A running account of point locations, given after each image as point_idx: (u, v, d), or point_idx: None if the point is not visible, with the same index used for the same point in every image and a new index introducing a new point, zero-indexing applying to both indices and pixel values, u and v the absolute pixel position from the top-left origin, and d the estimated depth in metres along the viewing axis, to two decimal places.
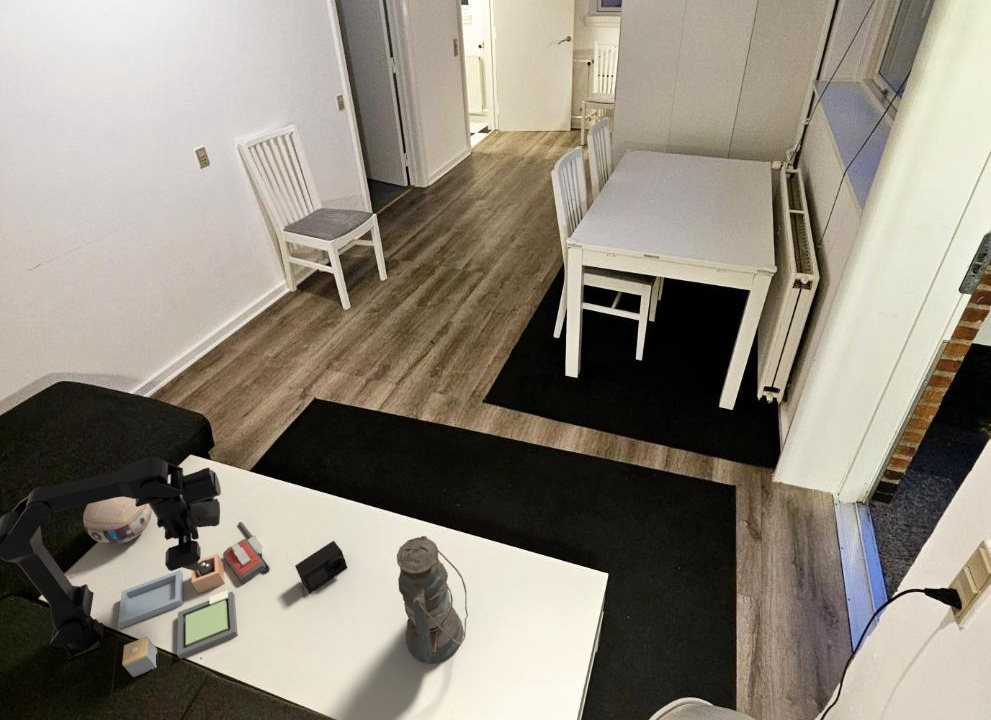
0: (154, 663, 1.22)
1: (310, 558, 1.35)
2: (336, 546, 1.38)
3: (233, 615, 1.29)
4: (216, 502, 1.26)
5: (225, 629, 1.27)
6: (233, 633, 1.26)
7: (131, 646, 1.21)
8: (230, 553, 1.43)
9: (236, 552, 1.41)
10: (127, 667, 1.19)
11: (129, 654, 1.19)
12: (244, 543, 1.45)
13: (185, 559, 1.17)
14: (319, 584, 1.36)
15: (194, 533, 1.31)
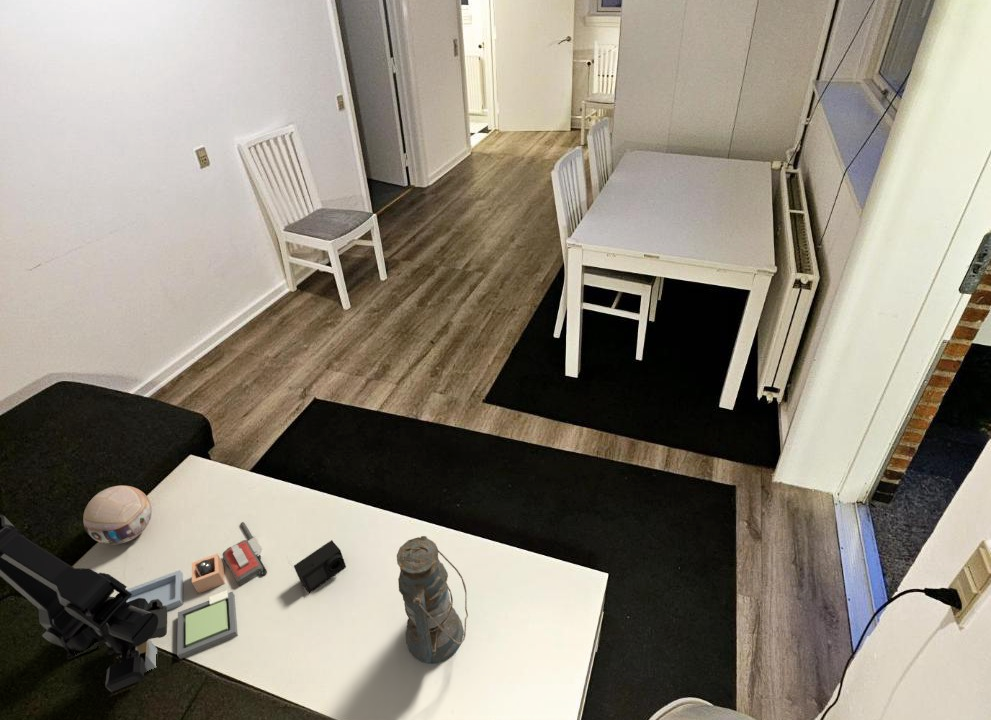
0: (154, 663, 1.22)
1: (309, 558, 1.35)
2: (334, 545, 1.38)
3: (233, 615, 1.29)
4: (164, 610, 1.20)
5: (225, 629, 1.27)
6: (233, 633, 1.26)
7: None
8: (229, 554, 1.43)
9: (235, 553, 1.41)
10: None
11: None
12: (244, 544, 1.45)
13: (126, 679, 1.11)
14: (318, 584, 1.36)
15: None
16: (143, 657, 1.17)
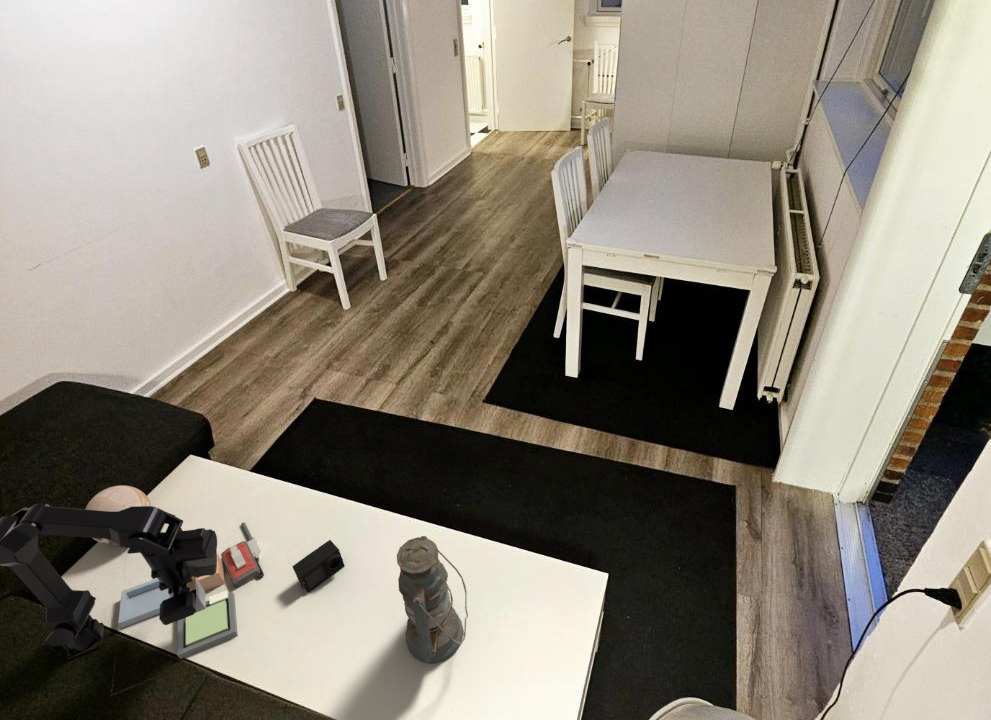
0: (202, 602, 1.23)
1: (307, 558, 1.35)
2: (333, 545, 1.38)
3: (233, 615, 1.29)
4: None
5: (225, 629, 1.27)
6: (233, 633, 1.26)
7: None
8: (228, 554, 1.42)
9: (233, 554, 1.41)
10: None
11: None
12: (243, 545, 1.45)
13: (180, 613, 1.12)
14: (317, 583, 1.36)
15: None
16: (194, 594, 1.17)
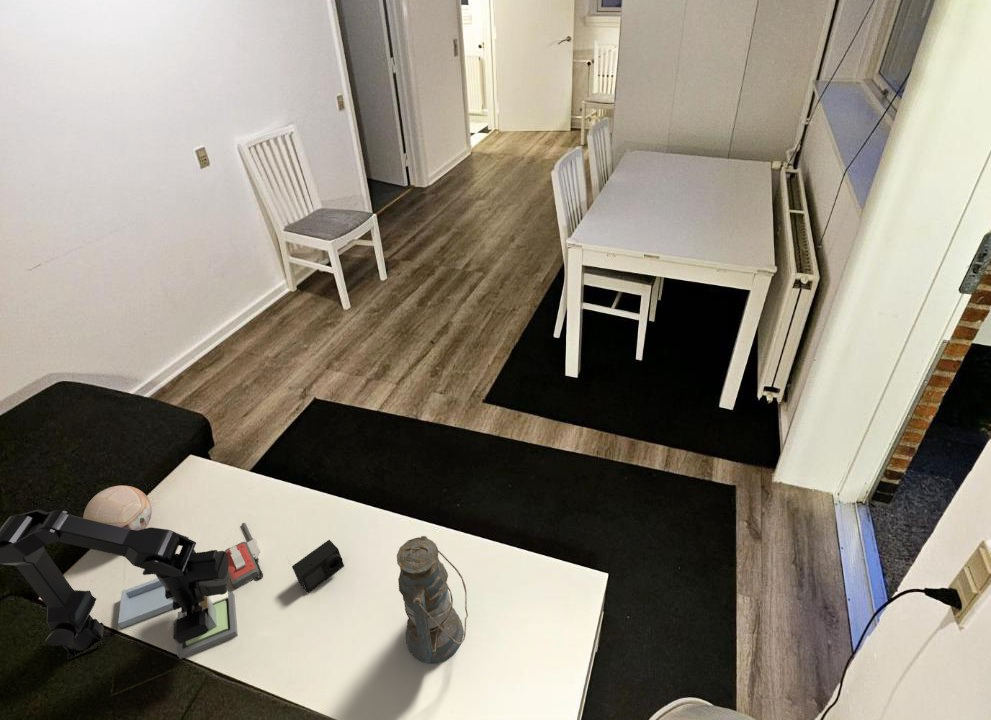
0: (214, 620, 1.27)
1: (307, 558, 1.35)
2: (332, 545, 1.38)
3: (233, 615, 1.29)
4: None
5: (225, 629, 1.27)
6: (233, 633, 1.26)
7: None
8: None
9: (233, 555, 1.41)
10: None
11: None
12: (242, 546, 1.45)
13: (193, 632, 1.16)
14: (317, 583, 1.36)
15: None
16: (206, 613, 1.22)
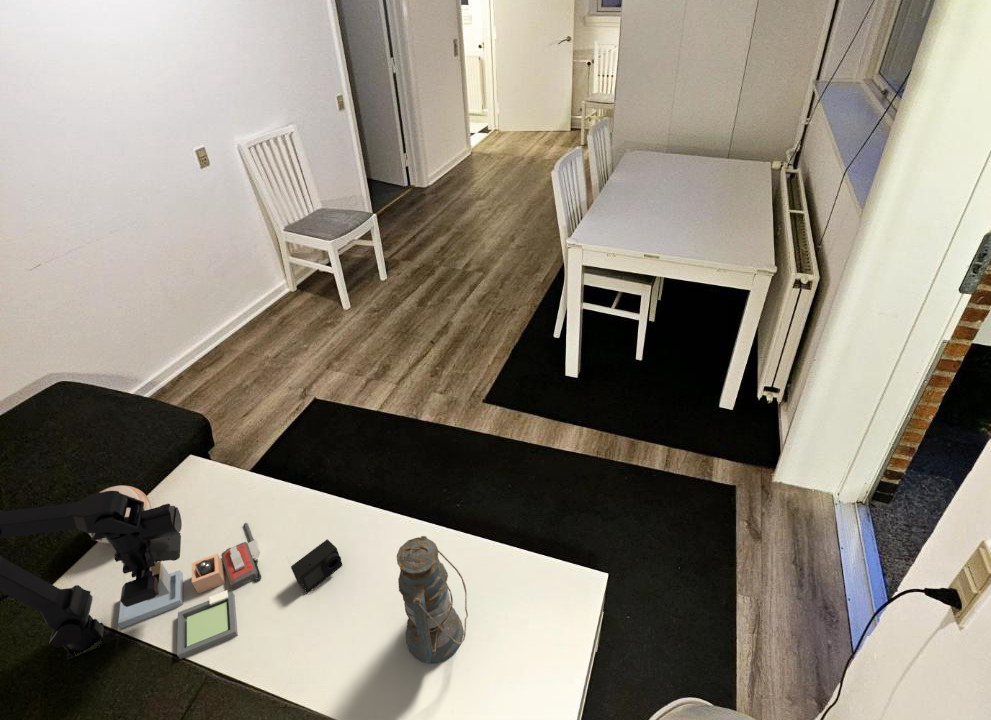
0: (167, 587, 1.26)
1: (305, 558, 1.35)
2: (330, 544, 1.38)
3: (233, 615, 1.29)
4: (177, 535, 1.24)
5: None
6: (233, 633, 1.26)
7: None
8: (227, 555, 1.42)
9: (232, 555, 1.41)
10: None
11: None
12: (243, 546, 1.44)
13: (141, 595, 1.15)
14: (316, 583, 1.36)
15: None
16: (157, 578, 1.21)
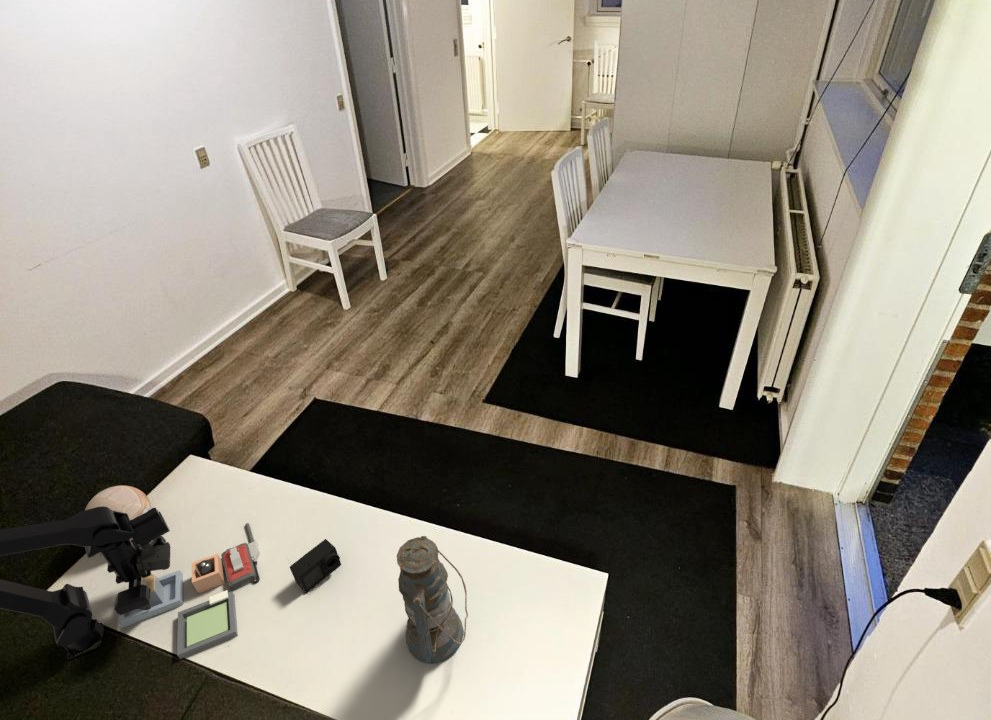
0: (161, 598, 1.34)
1: (304, 558, 1.36)
2: (329, 544, 1.38)
3: (233, 615, 1.29)
4: (167, 546, 1.31)
5: None
6: (233, 633, 1.26)
7: None
8: (227, 555, 1.42)
9: (232, 556, 1.41)
10: None
11: None
12: (243, 547, 1.44)
13: (133, 604, 1.22)
14: (315, 583, 1.36)
15: (147, 576, 1.36)
16: None
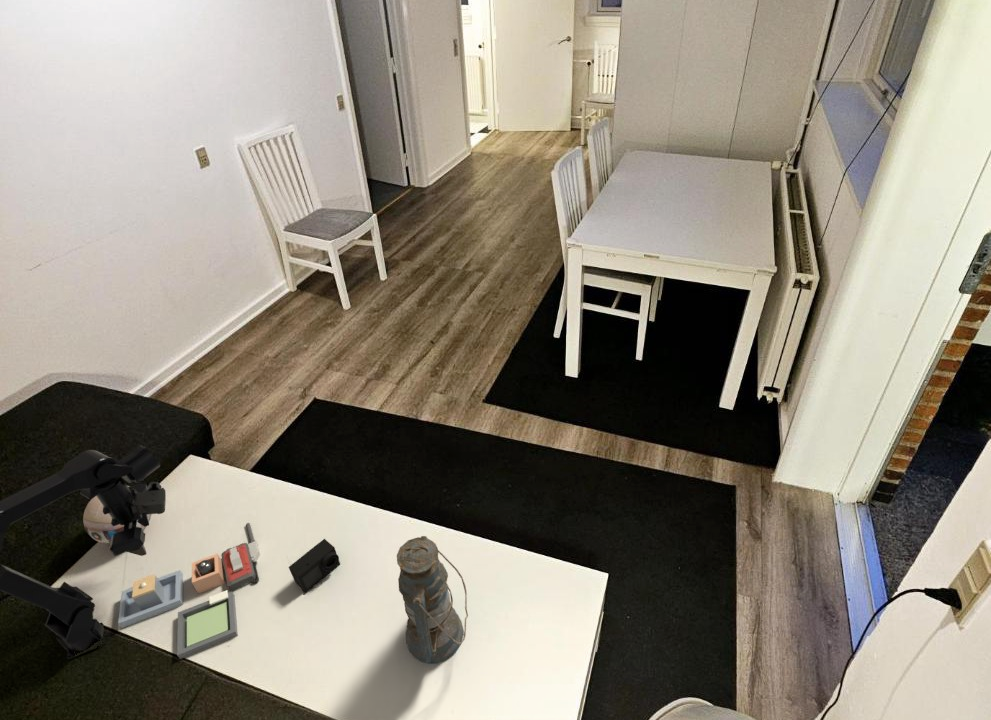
0: (161, 598, 1.34)
1: (303, 558, 1.36)
2: (328, 543, 1.39)
3: (233, 615, 1.29)
4: (162, 491, 1.33)
5: None
6: (233, 633, 1.26)
7: (140, 582, 1.33)
8: (227, 555, 1.42)
9: (231, 556, 1.40)
10: (136, 600, 1.31)
11: (138, 588, 1.31)
12: (243, 547, 1.44)
13: (128, 544, 1.24)
14: (314, 583, 1.36)
15: (144, 520, 1.38)
16: None
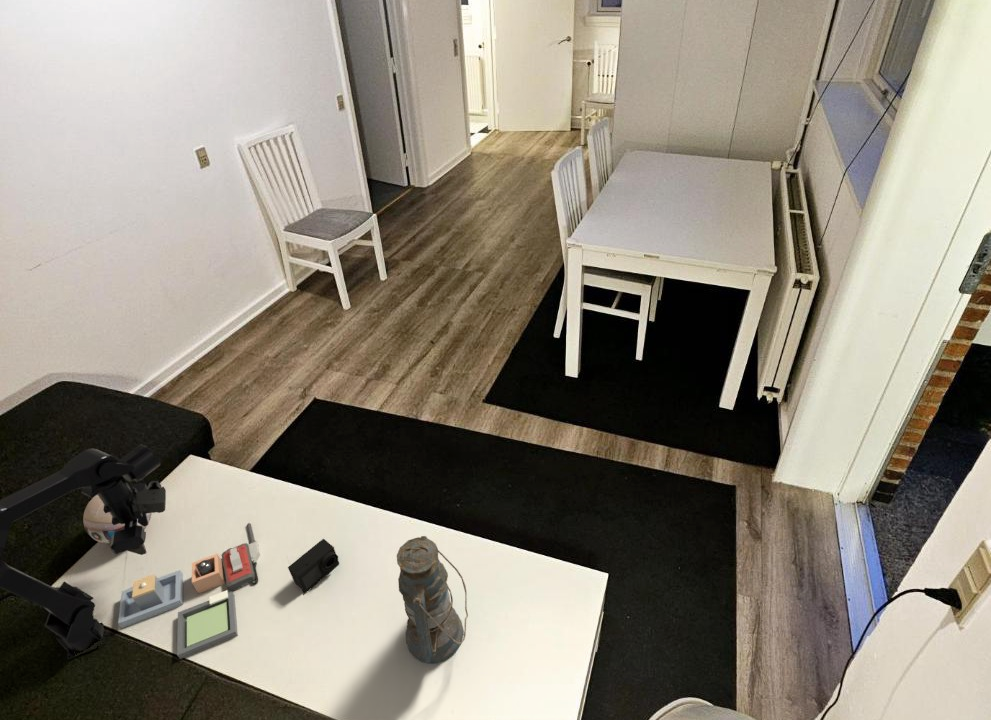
0: (161, 598, 1.34)
1: (302, 558, 1.36)
2: (327, 543, 1.39)
3: (233, 615, 1.29)
4: (162, 490, 1.34)
5: None
6: (233, 633, 1.26)
7: (140, 582, 1.33)
8: (227, 555, 1.42)
9: (231, 556, 1.40)
10: (136, 600, 1.31)
11: (138, 588, 1.31)
12: (243, 548, 1.44)
13: (129, 543, 1.24)
14: (313, 583, 1.36)
15: (143, 520, 1.39)
16: None
